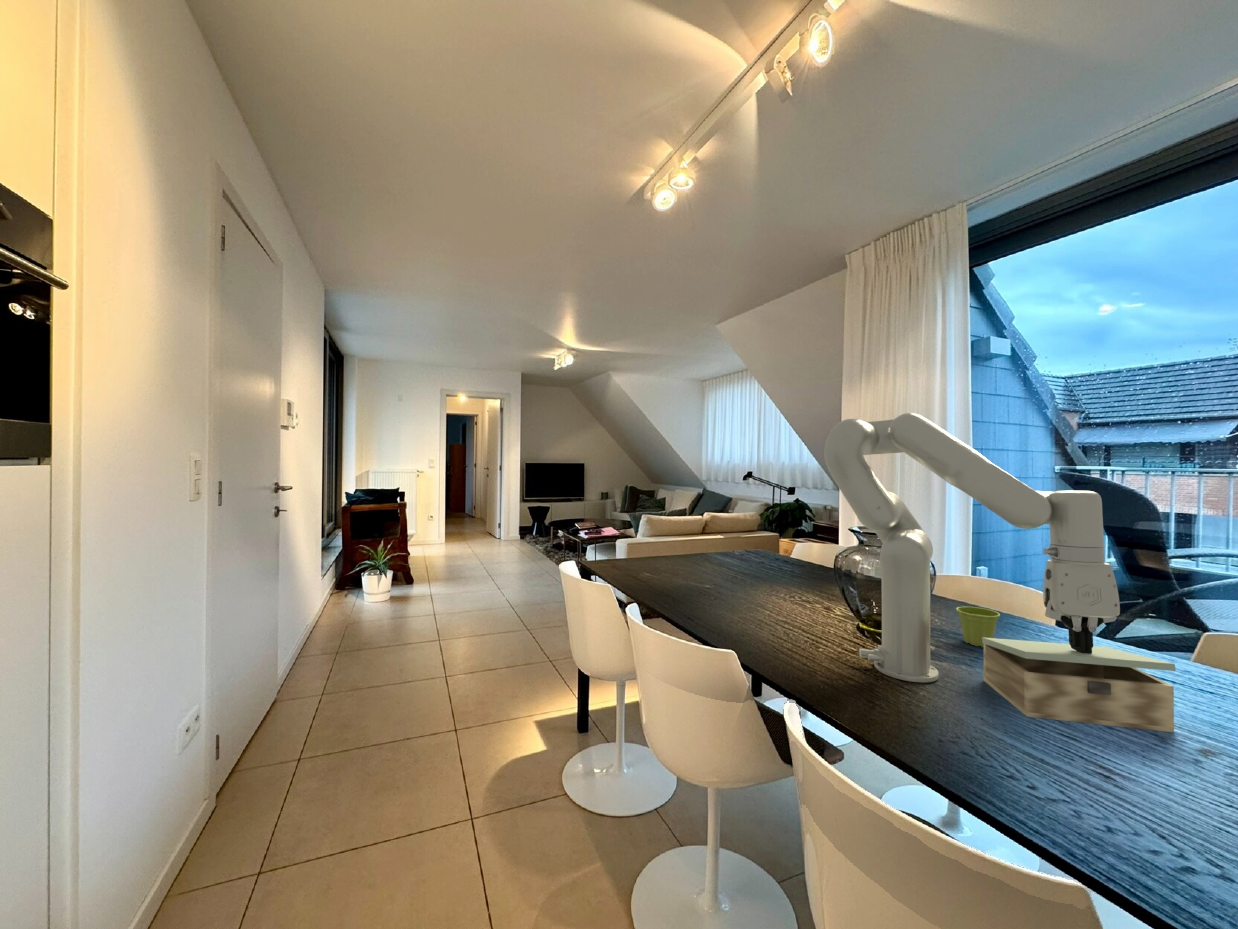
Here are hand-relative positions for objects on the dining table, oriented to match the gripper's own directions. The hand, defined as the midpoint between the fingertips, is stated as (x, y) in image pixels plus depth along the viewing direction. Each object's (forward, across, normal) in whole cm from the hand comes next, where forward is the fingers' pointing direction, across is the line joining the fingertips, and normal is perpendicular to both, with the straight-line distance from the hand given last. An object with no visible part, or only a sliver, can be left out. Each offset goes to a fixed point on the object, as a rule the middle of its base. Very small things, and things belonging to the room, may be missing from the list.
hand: (1081, 650), depth 92 cm
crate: (+11, -1, +2) cm, 12 cm away
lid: (+2, -1, +2) cm, 3 cm away
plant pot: (+11, -2, +36) cm, 38 cm away
